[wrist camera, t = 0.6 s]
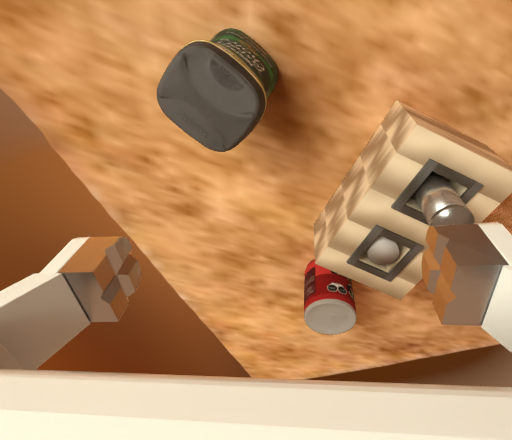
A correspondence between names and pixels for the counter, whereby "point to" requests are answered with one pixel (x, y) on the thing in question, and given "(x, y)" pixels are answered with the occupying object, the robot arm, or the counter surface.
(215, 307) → the counter surface
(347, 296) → the canned food
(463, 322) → the robot arm
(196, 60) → the coffee jar
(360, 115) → the counter surface
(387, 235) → the socket block
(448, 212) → the peg
